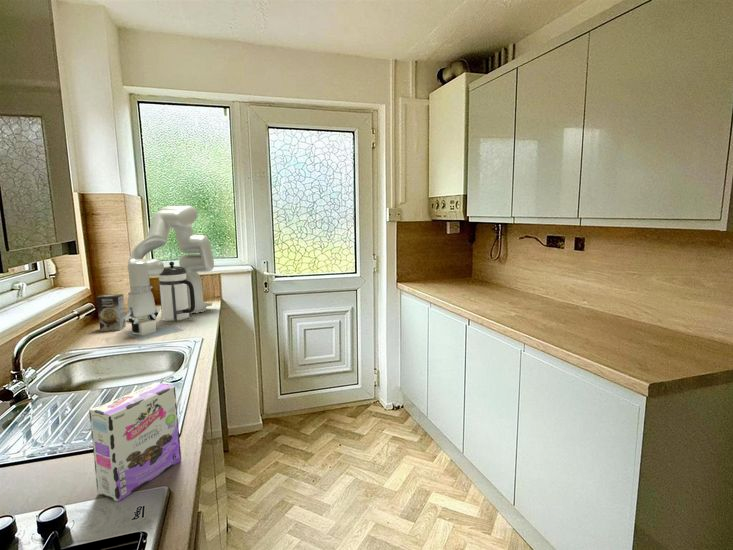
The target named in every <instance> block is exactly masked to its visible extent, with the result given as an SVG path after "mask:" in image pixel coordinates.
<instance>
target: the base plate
mask: <svg viewBox="0 0 733 550" xmlns="http://www.w3.org/2000/svg"><path fill="white" fill-rule="evenodd" d="M184 331H186V330H185V329H182V328H180V327H178V326H175V325H173V324H165V325H160V326H156V332H153V333H149V334H146V335H138V334H133V331H130V332H126V333H125V335H127V336H128V337H130V338H133V339H135V340H137V341H142V340H143V341H144V340H147V339H151V338H157V337H161V336H165V335H171V334H175V333H179V332H184Z"/></svg>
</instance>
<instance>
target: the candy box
mask: <svg viewBox="0 0 733 550" xmlns="http://www.w3.org/2000/svg"><path fill="white" fill-rule="evenodd" d="M176 396H177V395H176V386H175V385H170V384H167V383H166V384H165V383H161V382H156V381H155V382H153V383H152V384H149V385H148V386H145V387H142V388H139V389H137V390H136V391H132V392H130V393H127V394H125V395H123V396H121V397H118V398H116V399H113V400H111V401H110V400H109V402H106V403H104V404H100V405H99V406H96V407H92V408H90V409H89V410H88V414H89V421H90V430H91V431H90V432H91V441H92V450H93V451H92V452H93V460H94V470H95V480H96V490H97V492H96V493H97V494H99V495H101V496H104V497H106V498H108V499H109V500H112V501H114V502H120V501H121V500H123V499H124V498H126V497H127V496H130V495H131V493H133V492H135V491H137V490H139V489H140V488H141V487H143V486H144V485H147V483H149V482H150V481H152V480H153V479H155V478H157V477H159V476H161V474H163V473H164V472H166V471H168V470H169V469H171V468H173V467H174V465H176V464H178V463H180V462H182V452H181V440H180V432H179V431H180V430H179V429H180V428H179V418H178V417H179V416H178V404H177V397H176Z"/></svg>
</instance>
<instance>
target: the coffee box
mask: <svg viewBox="0 0 733 550" xmlns="http://www.w3.org/2000/svg"><path fill="white" fill-rule="evenodd" d="M124 297H125V296H124V293H120V294H118V293H116V294H113V293H111V294H101V295H98V296H97V297H96V301H97V313H98V314H97V315H98V321H99V323H98V324H99V331H100V332H107V331H108V332H109V330H112V331H122V330H123V329H125V328H127V320H126V319H125V318H124V315H125V314H126V311H125V310H126V309H125V300H124ZM124 327H125V328H124ZM121 329H122V330H121Z"/></svg>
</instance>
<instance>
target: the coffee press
mask: <svg viewBox="0 0 733 550" xmlns="http://www.w3.org/2000/svg"><path fill="white" fill-rule="evenodd" d="M168 265H169V266H164V270H163V272H162V273H161V274H160V275H158V287H159V297H160V298H159V299H160V311H161V318H160V320H162V319H163V322H165V321H167V322H178V321H182V320H186V319H187V320H190V318H189V316H190V317H191V319H193V316H192V314H190V312H193V311H194V309H195V296H194V288H193V285H192V283H191V282H190V281H187V278H186V273H187V271H186V270H185V269H184V268H183V267H180V265H178V266H177V265H175V262H174V261H170V262H169V263H168ZM187 285H188V286H189V289H190V300H191V308H190V309H189V306H188V304H189V299H188V293H187V291H188V287H187Z"/></svg>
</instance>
